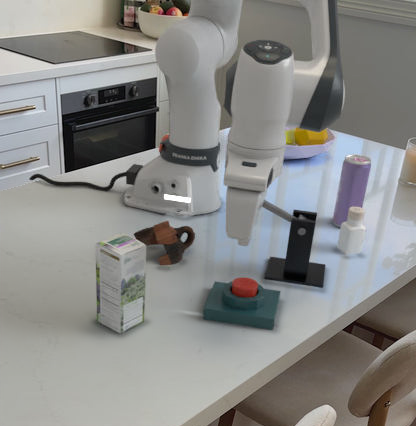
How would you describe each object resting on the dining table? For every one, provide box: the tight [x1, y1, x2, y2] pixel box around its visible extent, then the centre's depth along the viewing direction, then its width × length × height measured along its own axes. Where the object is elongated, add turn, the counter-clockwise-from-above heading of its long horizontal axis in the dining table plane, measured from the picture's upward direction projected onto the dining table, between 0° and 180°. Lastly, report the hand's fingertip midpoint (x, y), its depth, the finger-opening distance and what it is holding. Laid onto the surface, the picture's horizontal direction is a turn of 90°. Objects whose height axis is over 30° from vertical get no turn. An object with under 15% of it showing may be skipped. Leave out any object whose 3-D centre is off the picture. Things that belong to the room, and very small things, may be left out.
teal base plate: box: [202, 280, 281, 331], centre depth 116 cm, size 12×10×4 cm
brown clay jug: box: [133, 220, 196, 266], centre depth 131 cm, size 12×10×8 cm
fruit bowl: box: [283, 126, 337, 161], centre depth 188 cm, size 28×27×11 cm
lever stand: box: [264, 209, 326, 289], centre depth 126 cm, size 11×9×12 cm
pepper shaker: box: [336, 207, 367, 255], centre depth 137 cm, size 4×4×10 cm
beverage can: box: [332, 154, 372, 229], centre depth 147 cm, size 6×6×15 cm
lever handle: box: [262, 199, 310, 223], centre depth 123 cm, size 13×3×3 cm, turn 79°
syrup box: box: [95, 233, 147, 334], centre depth 107 cm, size 6×6×14 cm
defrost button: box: [231, 276, 259, 298], centre depth 115 cm, size 4×4×2 cm
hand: (244, 242), depth 110 cm, fingers closed
